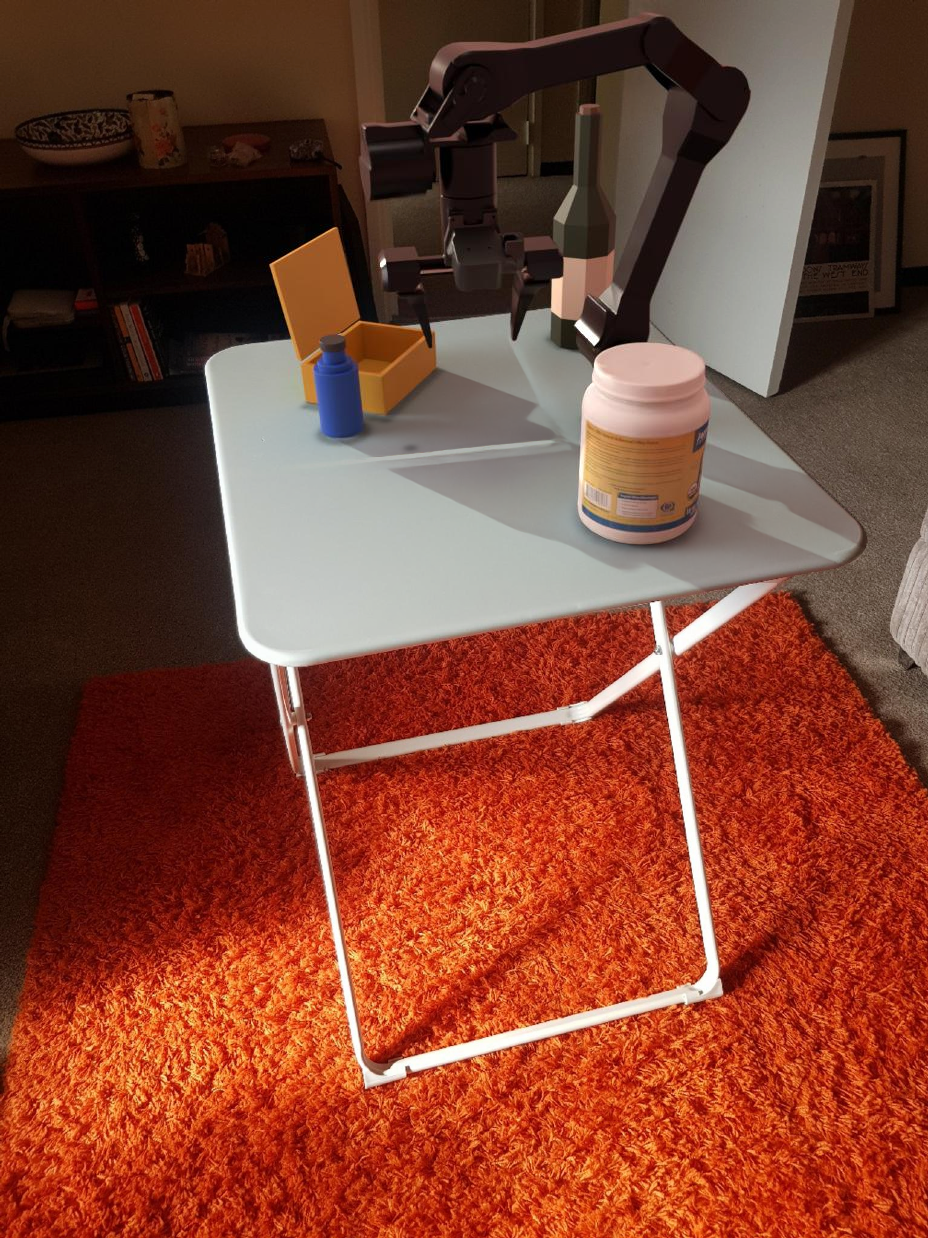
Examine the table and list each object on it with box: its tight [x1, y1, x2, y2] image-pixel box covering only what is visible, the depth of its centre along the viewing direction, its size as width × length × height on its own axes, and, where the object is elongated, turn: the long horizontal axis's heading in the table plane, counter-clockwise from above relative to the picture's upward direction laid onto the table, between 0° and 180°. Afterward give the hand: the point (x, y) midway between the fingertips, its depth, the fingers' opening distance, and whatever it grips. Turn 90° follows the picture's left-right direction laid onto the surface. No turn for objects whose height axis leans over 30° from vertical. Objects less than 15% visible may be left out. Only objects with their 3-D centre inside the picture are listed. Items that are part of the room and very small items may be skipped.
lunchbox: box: [300, 320, 438, 416], centre depth 127 cm, size 11×15×6 cm
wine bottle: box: [550, 103, 617, 351], centre depth 130 cm, size 8×8×30 cm
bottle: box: [313, 334, 365, 439], centre depth 115 cm, size 5×5×12 cm
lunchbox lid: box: [269, 227, 361, 362], centre depth 124 cm, size 12×15×4 cm
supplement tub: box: [577, 342, 711, 545], centre depth 96 cm, size 12×12×17 cm
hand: (472, 343), depth 106 cm, fingers open, 9 cm apart
